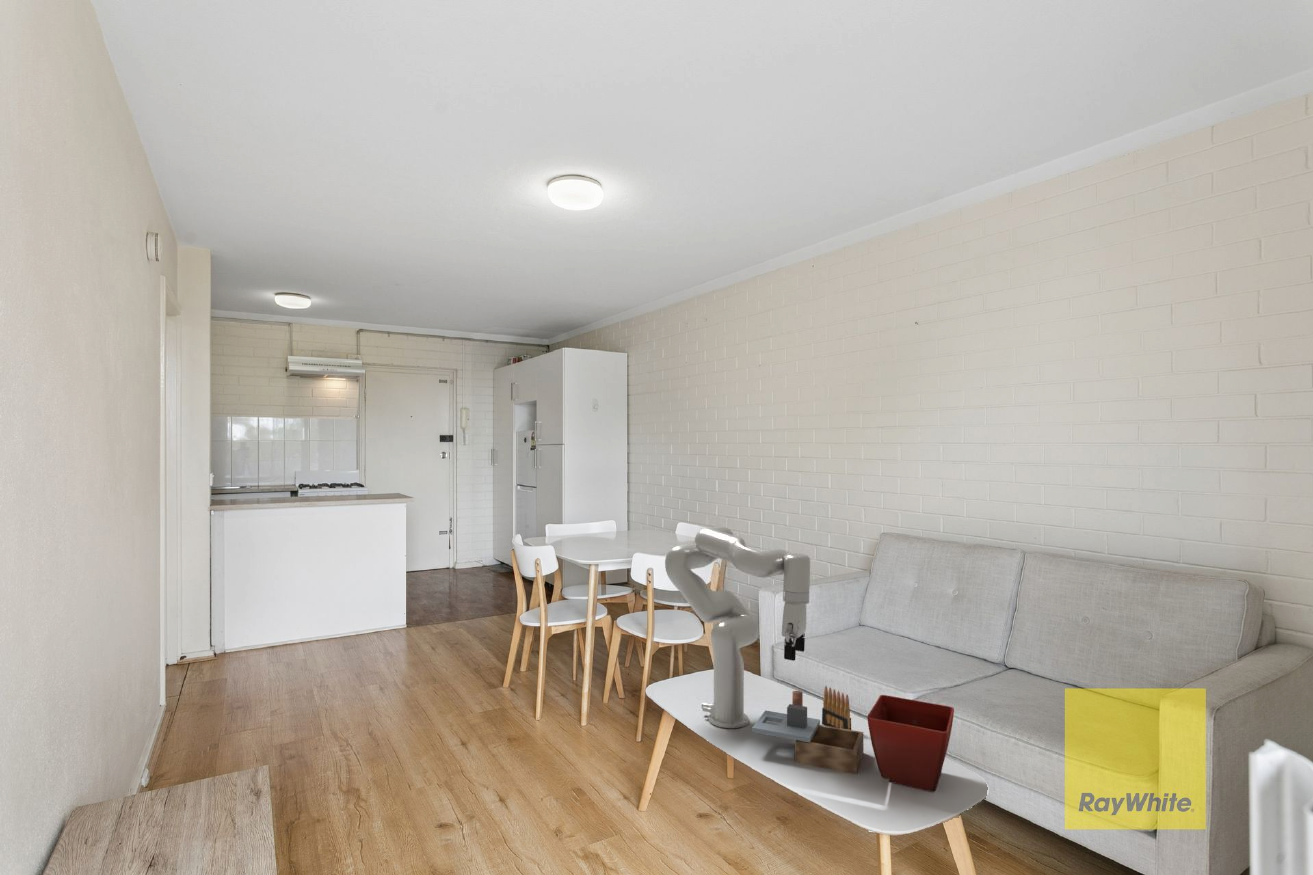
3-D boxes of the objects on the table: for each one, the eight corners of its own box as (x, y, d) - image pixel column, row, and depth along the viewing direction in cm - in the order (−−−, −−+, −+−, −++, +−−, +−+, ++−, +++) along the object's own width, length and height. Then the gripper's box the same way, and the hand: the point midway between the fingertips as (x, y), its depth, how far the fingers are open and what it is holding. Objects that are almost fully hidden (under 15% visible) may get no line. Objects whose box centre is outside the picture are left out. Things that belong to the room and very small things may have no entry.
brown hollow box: (795, 765, 179) (795, 740, 179) (805, 745, 192) (805, 722, 192) (856, 778, 172) (856, 751, 172) (863, 756, 185) (863, 732, 185)
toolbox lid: (752, 731, 184) (752, 709, 184) (765, 714, 197) (765, 693, 197) (810, 742, 177) (810, 718, 178) (819, 723, 190) (819, 701, 190)
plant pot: (947, 802, 160) (947, 731, 161) (866, 783, 169) (866, 716, 170) (955, 770, 177) (954, 706, 177) (880, 754, 186) (880, 693, 187)
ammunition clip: (851, 735, 199) (851, 694, 200) (847, 736, 198) (847, 695, 199) (826, 722, 209) (825, 684, 209) (821, 723, 208) (821, 685, 208)
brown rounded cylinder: (791, 735, 199) (791, 693, 199) (793, 731, 202) (793, 689, 202) (801, 737, 198) (801, 694, 198) (803, 733, 200) (803, 691, 201)
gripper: (791, 589, 204) (790, 645, 204) (774, 600, 189) (772, 660, 188) (816, 592, 200) (814, 649, 200) (800, 604, 185) (799, 665, 185)
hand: (794, 654), depth 194 cm, fingers open, 9 cm apart
